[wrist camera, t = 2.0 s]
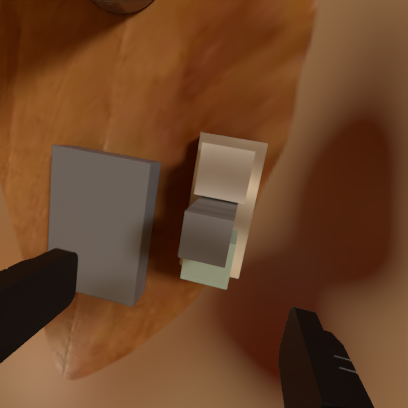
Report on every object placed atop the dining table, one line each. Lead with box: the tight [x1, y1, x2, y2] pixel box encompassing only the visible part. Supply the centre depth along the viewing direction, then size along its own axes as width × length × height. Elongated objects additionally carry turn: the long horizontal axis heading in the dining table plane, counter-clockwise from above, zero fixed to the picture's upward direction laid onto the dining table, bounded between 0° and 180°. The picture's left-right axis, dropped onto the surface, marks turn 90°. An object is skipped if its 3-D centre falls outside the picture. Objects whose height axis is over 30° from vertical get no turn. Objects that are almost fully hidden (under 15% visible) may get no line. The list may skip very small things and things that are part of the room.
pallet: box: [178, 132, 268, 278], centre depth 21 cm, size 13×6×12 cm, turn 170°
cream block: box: [194, 142, 255, 204], centre depth 22 cm, size 4×4×4 cm
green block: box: [180, 229, 238, 289], centre depth 24 cm, size 4×4×4 cm
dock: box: [48, 145, 161, 307], centre depth 28 cm, size 15×10×3 cm, turn 170°
